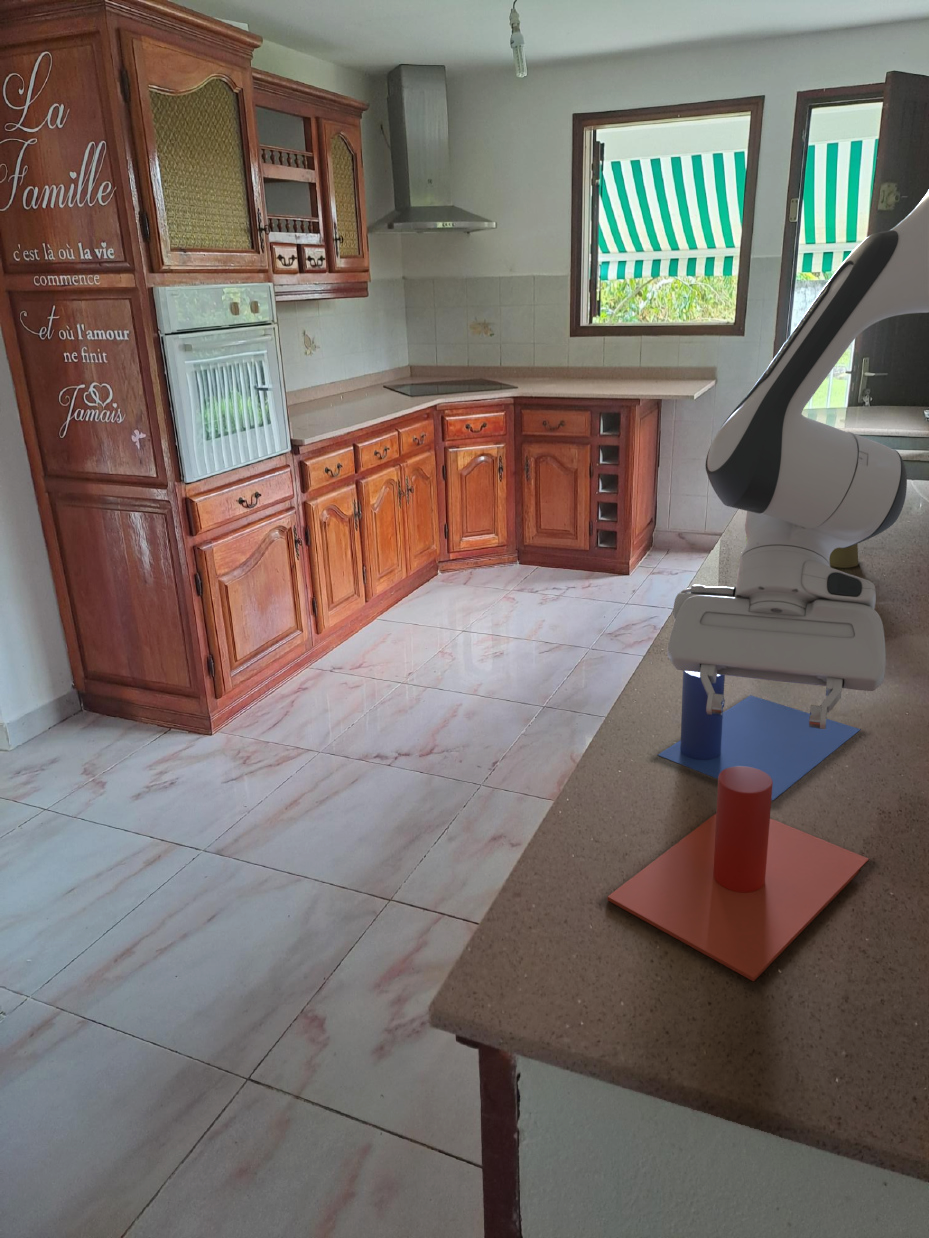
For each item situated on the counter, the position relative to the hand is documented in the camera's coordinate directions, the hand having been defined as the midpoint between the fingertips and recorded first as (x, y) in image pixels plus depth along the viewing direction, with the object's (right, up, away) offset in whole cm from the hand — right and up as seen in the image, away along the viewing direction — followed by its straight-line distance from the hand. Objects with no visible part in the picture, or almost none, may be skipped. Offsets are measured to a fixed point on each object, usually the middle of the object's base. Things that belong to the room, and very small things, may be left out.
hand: (764, 720), depth 85 cm
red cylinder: (-4, -13, -7) cm, 15 cm away
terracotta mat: (-4, -14, -6) cm, 16 cm away
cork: (+39, +20, +75) cm, 87 cm away
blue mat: (+5, -5, +16) cm, 17 cm away
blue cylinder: (-2, -5, +14) cm, 15 cm away
